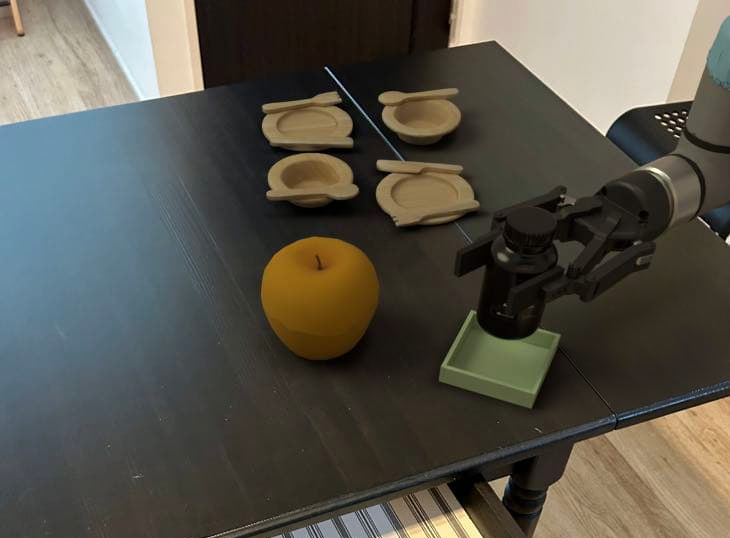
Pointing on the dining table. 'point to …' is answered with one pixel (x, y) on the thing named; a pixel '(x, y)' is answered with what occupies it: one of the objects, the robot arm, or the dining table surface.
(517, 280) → the supplement bottle
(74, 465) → the dining table surface
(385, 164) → the tableware set
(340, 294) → the apple
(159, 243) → the dining table surface
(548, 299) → the robot arm
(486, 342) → the tray
